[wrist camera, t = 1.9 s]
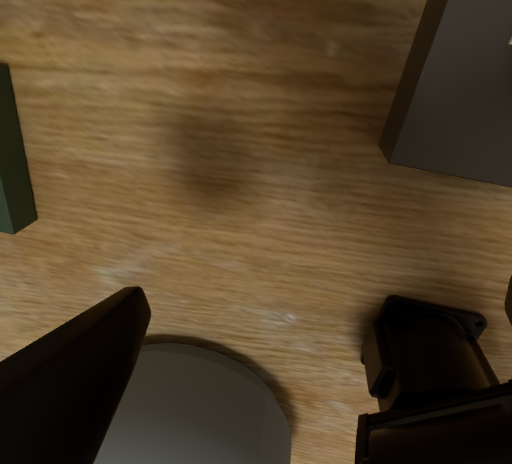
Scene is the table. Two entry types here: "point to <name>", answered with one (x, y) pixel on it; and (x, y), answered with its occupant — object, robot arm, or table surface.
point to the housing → (12, 165)
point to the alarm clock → (195, 412)
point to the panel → (456, 94)
